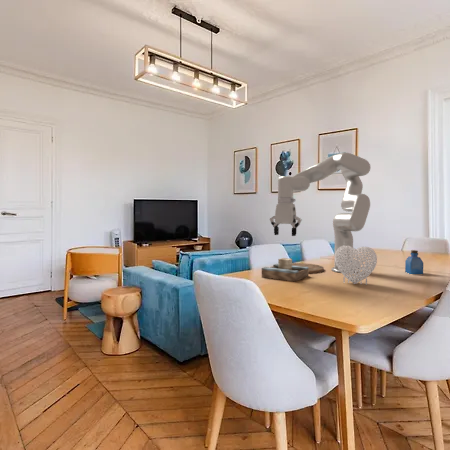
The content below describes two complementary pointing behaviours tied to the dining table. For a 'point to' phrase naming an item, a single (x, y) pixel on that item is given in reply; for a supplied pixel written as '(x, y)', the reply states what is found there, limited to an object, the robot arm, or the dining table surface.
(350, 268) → the decorative heart
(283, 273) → the crate
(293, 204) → the robot arm
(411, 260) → the perfume bottle
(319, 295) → the dining table surface
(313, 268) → the trivet
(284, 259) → the beech block
